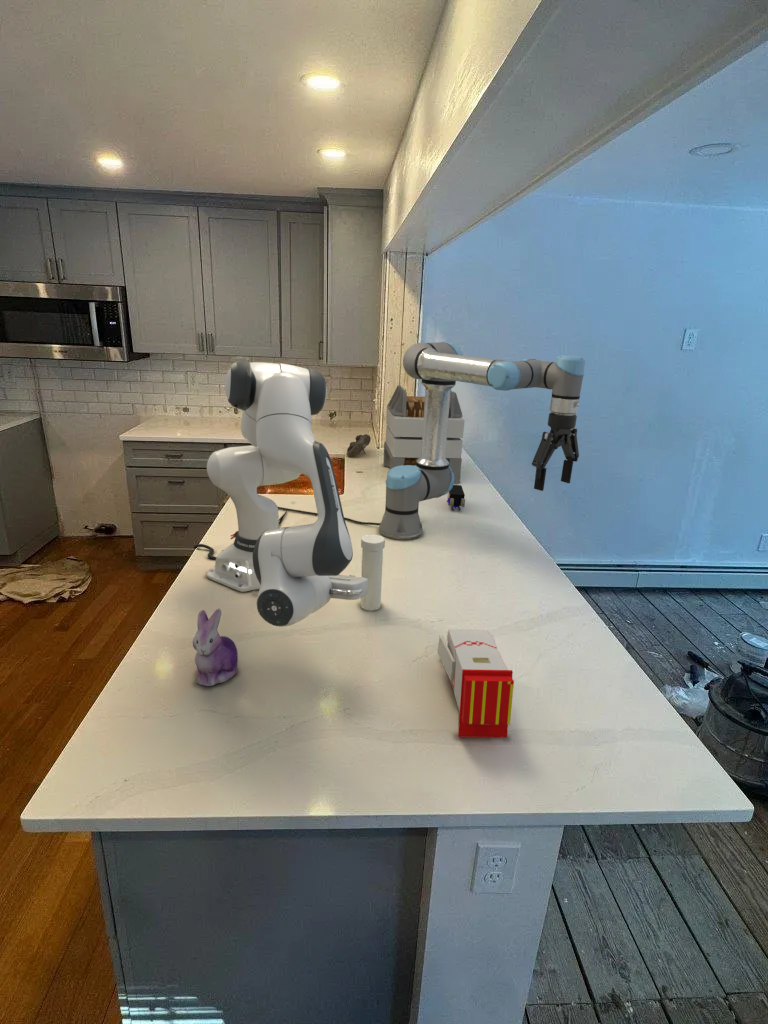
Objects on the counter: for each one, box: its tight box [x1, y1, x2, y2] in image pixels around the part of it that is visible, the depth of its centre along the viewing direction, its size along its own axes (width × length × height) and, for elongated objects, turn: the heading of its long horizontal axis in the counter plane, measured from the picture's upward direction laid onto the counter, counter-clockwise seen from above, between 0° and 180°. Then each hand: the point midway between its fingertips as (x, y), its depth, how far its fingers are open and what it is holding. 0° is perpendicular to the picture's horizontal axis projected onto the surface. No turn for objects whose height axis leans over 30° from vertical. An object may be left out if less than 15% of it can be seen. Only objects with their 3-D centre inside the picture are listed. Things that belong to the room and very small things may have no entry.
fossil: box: [346, 433, 372, 458], centre depth 305 cm, size 22×10×15 cm
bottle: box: [360, 547, 384, 611], centre depth 148 cm, size 5×5×19 cm
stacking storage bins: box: [383, 384, 465, 484], centre depth 268 cm, size 34×33×41 cm
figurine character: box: [446, 484, 466, 511], centre depth 229 cm, size 7×8×15 cm
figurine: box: [192, 608, 239, 687], centre depth 118 cm, size 9×10×15 cm
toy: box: [437, 628, 515, 738], centre depth 117 cm, size 12×13×30 cm
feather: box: [279, 510, 288, 526], centre depth 213 cm, size 2×28×2 cm
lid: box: [360, 533, 386, 551], centre depth 145 cm, size 6×6×2 cm
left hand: (333, 576), depth 128 cm, fingers open, 8 cm apart
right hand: (552, 485), depth 166 cm, fingers open, 13 cm apart
